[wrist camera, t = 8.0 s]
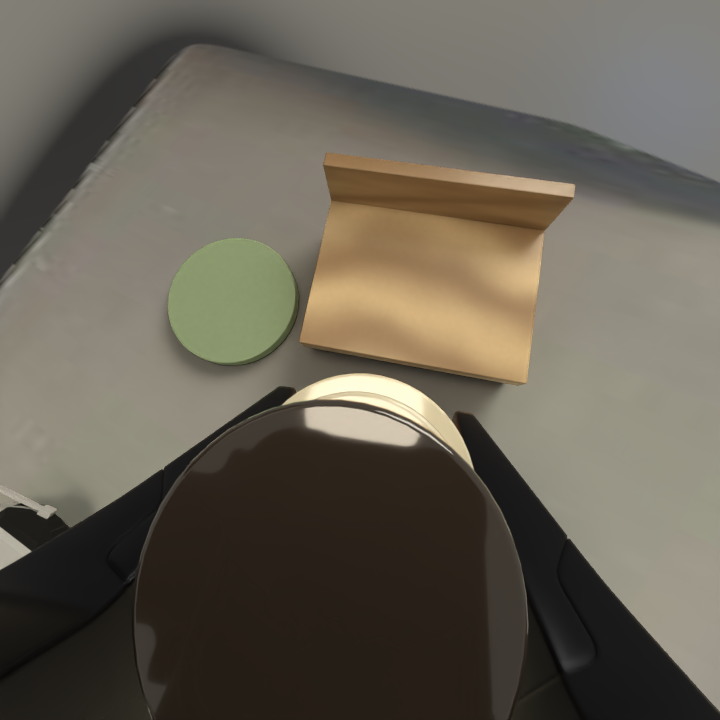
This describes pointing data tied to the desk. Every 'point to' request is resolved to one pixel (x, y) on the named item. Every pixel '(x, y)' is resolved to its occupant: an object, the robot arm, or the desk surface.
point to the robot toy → (25, 526)
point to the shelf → (431, 266)
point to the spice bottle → (332, 570)
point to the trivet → (233, 302)
